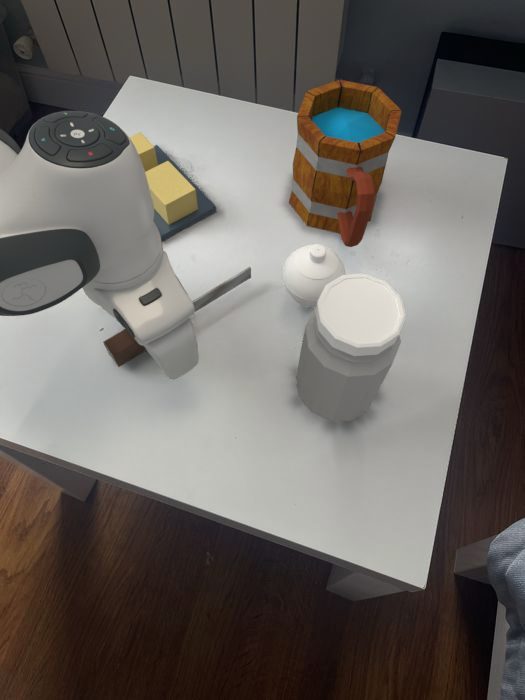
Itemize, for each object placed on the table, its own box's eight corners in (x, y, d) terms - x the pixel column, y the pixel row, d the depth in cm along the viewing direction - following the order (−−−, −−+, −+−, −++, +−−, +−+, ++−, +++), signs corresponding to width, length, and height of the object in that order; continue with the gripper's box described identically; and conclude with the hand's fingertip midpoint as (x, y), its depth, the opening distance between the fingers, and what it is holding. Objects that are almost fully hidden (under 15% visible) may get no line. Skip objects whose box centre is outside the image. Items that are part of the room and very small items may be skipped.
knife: (118, 367, 66) (113, 356, 63) (108, 353, 66) (102, 341, 64) (255, 282, 72) (255, 269, 69) (245, 271, 73) (244, 257, 70)
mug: (282, 170, 84) (289, 82, 71) (367, 164, 85) (389, 76, 72) (302, 271, 74) (314, 192, 61) (397, 263, 75) (428, 183, 62)
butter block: (169, 225, 76) (165, 205, 73) (142, 195, 79) (138, 175, 75) (198, 209, 78) (195, 189, 74) (171, 181, 80) (168, 160, 77)
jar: (278, 391, 66) (288, 312, 50) (326, 339, 69) (349, 249, 53) (343, 441, 63) (375, 374, 47) (389, 384, 66) (433, 303, 51)
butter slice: (129, 182, 80) (124, 160, 77) (116, 166, 82) (110, 144, 78) (158, 168, 82) (154, 146, 78) (145, 153, 83) (140, 131, 80)
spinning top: (269, 295, 72) (273, 235, 62) (320, 276, 74) (332, 216, 64) (294, 340, 69) (303, 286, 59) (346, 320, 71) (364, 263, 60)
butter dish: (159, 243, 76) (157, 237, 75) (102, 177, 82) (100, 171, 81) (216, 211, 79) (216, 206, 78) (158, 150, 85) (156, 144, 84)
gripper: (44, 215, 57) (80, 291, 69) (147, 351, 49) (167, 409, 61) (97, 189, 59) (123, 267, 71) (204, 316, 51) (213, 379, 63)
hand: (144, 334), depth 66 cm, fingers closed on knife, 2 cm apart
